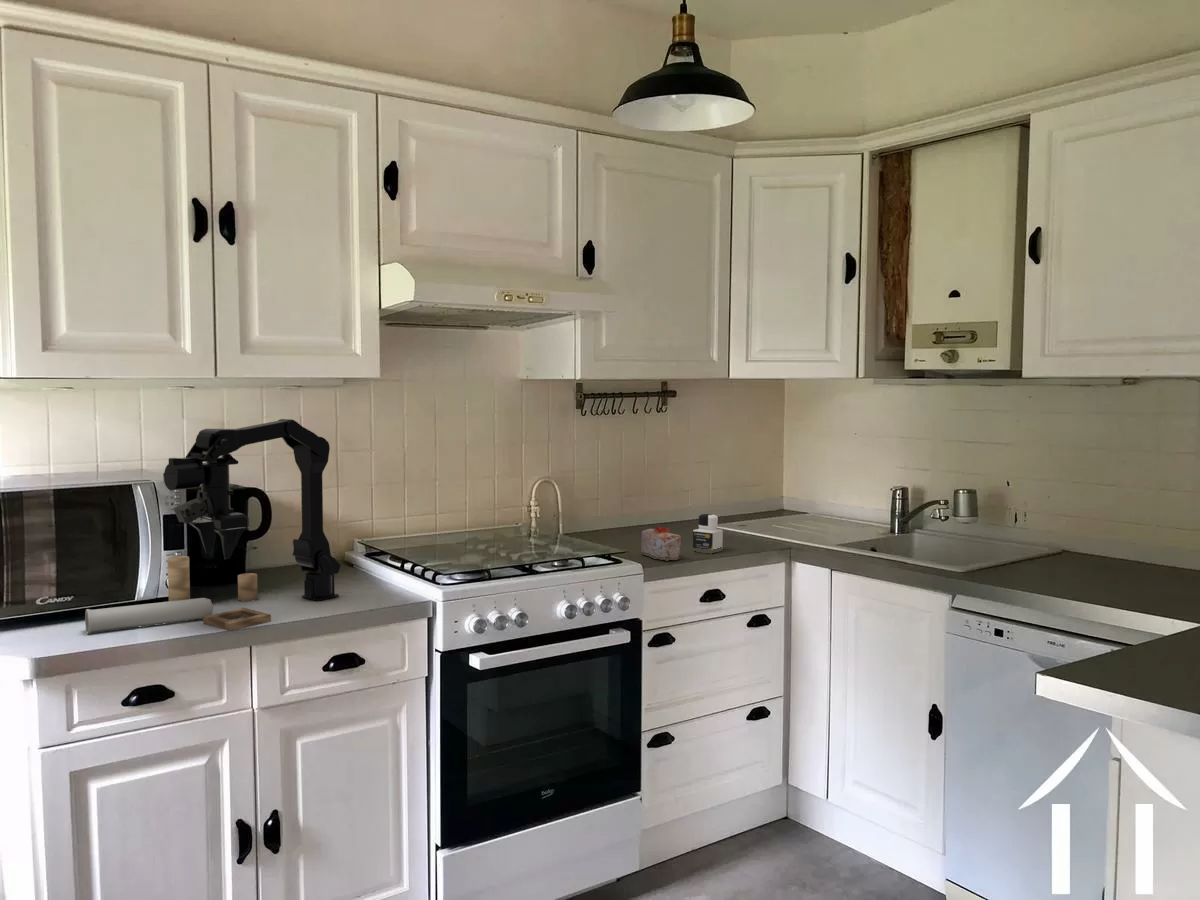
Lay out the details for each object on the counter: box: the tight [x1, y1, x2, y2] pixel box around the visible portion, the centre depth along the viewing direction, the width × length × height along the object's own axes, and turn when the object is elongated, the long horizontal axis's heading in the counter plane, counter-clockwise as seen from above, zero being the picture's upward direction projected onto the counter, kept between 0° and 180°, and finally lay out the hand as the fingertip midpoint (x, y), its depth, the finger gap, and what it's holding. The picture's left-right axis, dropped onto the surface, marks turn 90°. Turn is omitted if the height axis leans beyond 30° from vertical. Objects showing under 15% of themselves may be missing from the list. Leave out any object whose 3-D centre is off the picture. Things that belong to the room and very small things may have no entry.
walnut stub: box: [237, 572, 259, 602], centre depth 223 cm, size 4×4×6 cm
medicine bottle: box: [692, 513, 724, 550], centre depth 293 cm, size 7×7×12 cm
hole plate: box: [202, 607, 272, 632], centre depth 202 cm, size 10×10×2 cm
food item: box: [640, 526, 682, 559], centre depth 281 cm, size 14×8×10 cm, turn 34°
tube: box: [84, 597, 214, 635], centre depth 199 cm, size 5×5×25 cm
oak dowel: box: [167, 555, 191, 602], centre depth 207 cm, size 4×4×13 cm
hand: (217, 556), depth 203 cm, fingers open, 9 cm apart
